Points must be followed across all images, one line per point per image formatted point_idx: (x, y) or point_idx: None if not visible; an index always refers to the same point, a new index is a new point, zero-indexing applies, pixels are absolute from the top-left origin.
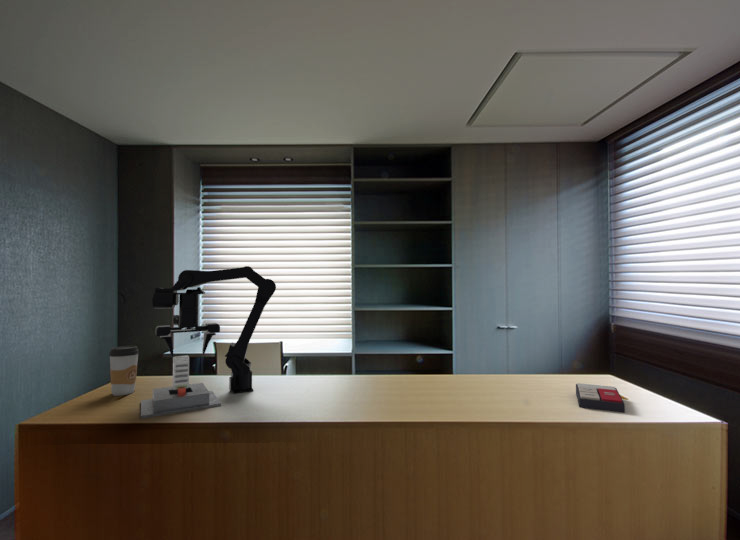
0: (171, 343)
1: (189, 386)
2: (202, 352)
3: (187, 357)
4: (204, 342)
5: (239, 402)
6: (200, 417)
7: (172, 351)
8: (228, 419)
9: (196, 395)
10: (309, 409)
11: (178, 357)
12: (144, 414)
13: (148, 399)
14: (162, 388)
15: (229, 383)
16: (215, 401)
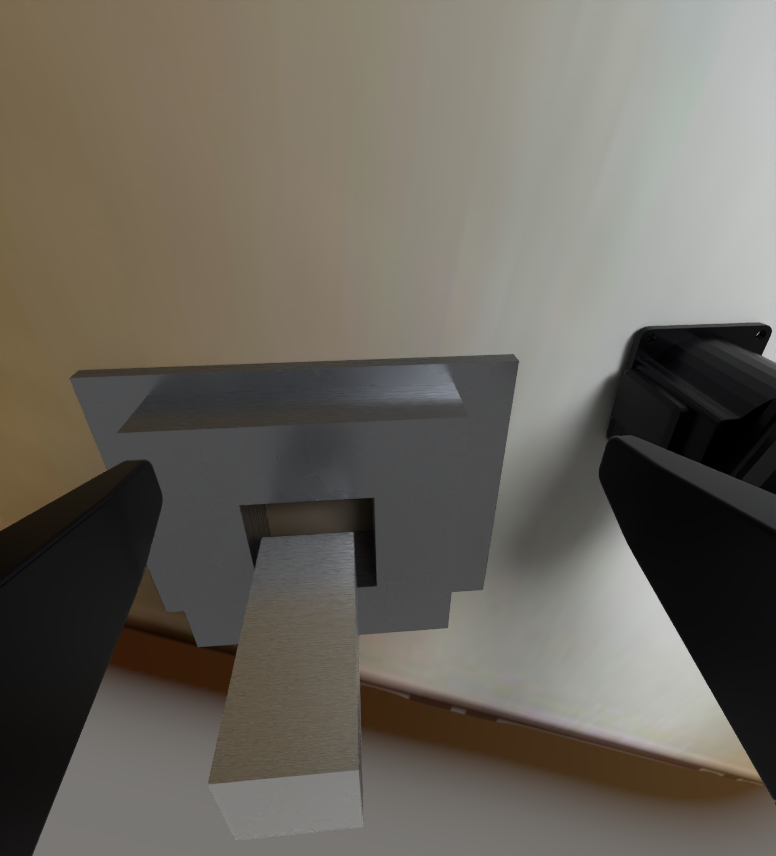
0: (23, 846)
1: (369, 476)
2: (622, 450)
3: (348, 827)
4: (747, 683)
5: (560, 566)
6: (385, 650)
7: (120, 613)
8: (460, 685)
9: (387, 628)
10: (690, 690)
11: (268, 817)
12: (177, 604)
13: (116, 378)
14: (188, 449)
15: (643, 394)
16: (470, 561)
